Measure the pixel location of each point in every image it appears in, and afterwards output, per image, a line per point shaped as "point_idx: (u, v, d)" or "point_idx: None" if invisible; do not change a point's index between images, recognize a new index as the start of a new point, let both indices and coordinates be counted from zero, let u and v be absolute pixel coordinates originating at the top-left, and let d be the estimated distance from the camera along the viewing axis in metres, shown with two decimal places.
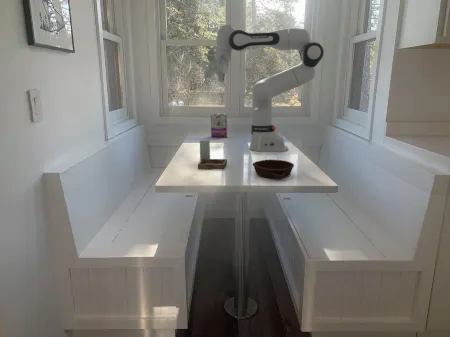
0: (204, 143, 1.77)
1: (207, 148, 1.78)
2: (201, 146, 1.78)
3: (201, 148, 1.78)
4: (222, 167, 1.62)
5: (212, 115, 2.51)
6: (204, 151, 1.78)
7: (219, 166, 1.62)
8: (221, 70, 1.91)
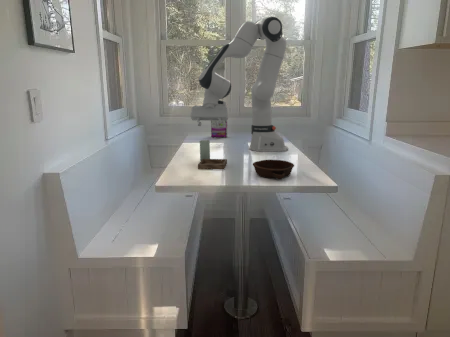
0: (204, 143, 1.77)
1: (207, 148, 1.78)
2: (201, 146, 1.78)
3: (201, 148, 1.78)
4: (222, 167, 1.62)
5: None
6: (204, 151, 1.78)
7: (219, 166, 1.62)
8: None
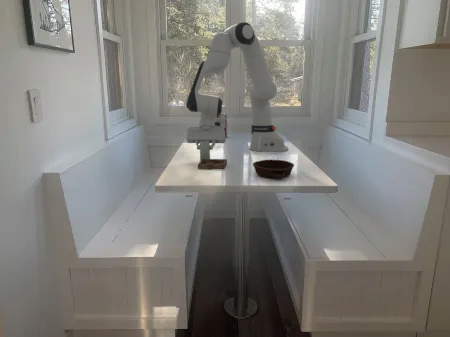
0: (204, 143, 1.77)
1: (207, 148, 1.78)
2: (201, 146, 1.78)
3: (201, 148, 1.78)
4: (222, 167, 1.62)
5: None
6: (204, 151, 1.78)
7: (219, 166, 1.62)
8: (186, 138, 1.83)
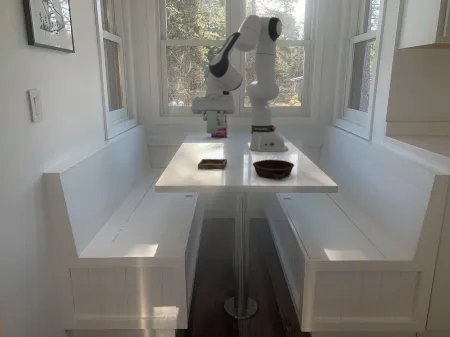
0: (211, 113, 1.60)
1: (214, 119, 1.61)
2: (208, 116, 1.61)
3: (208, 119, 1.61)
4: (222, 167, 1.62)
5: None
6: (211, 122, 1.61)
7: (219, 166, 1.62)
8: None
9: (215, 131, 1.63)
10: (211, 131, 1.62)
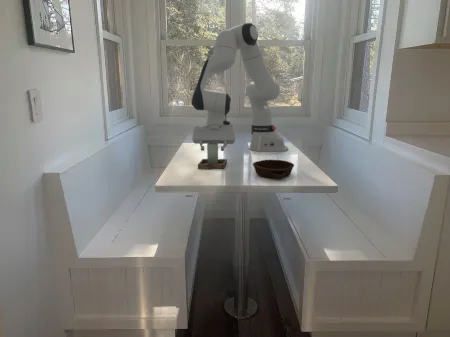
0: (212, 147, 1.64)
1: (215, 152, 1.65)
2: (209, 150, 1.65)
3: (209, 152, 1.65)
4: (222, 167, 1.62)
5: None
6: (212, 155, 1.65)
7: (219, 166, 1.62)
8: None
9: None
10: None
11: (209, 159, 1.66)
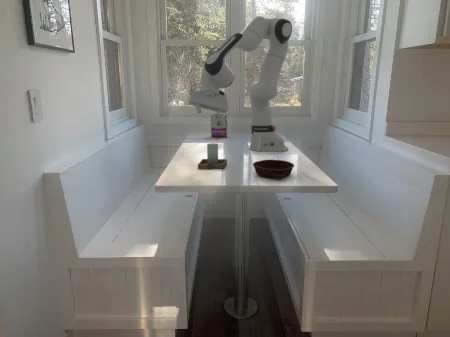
0: (212, 147, 1.64)
1: (215, 152, 1.65)
2: (209, 150, 1.65)
3: (209, 152, 1.65)
4: (222, 167, 1.62)
5: (212, 115, 2.51)
6: (212, 155, 1.65)
7: (219, 166, 1.62)
8: (189, 99, 1.74)
9: None
10: None
11: (209, 159, 1.66)
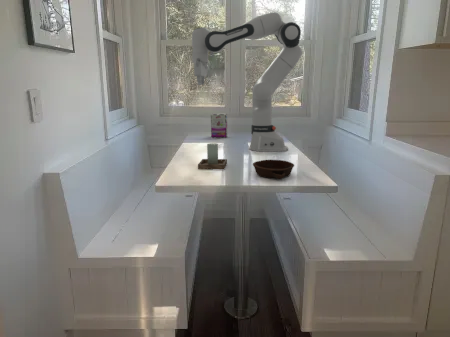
0: (212, 147, 1.64)
1: (215, 152, 1.65)
2: (209, 150, 1.65)
3: (209, 152, 1.65)
4: (222, 167, 1.62)
5: (212, 115, 2.51)
6: (212, 155, 1.65)
7: (219, 166, 1.62)
8: (199, 73, 1.88)
9: None
10: None
11: (209, 159, 1.66)
